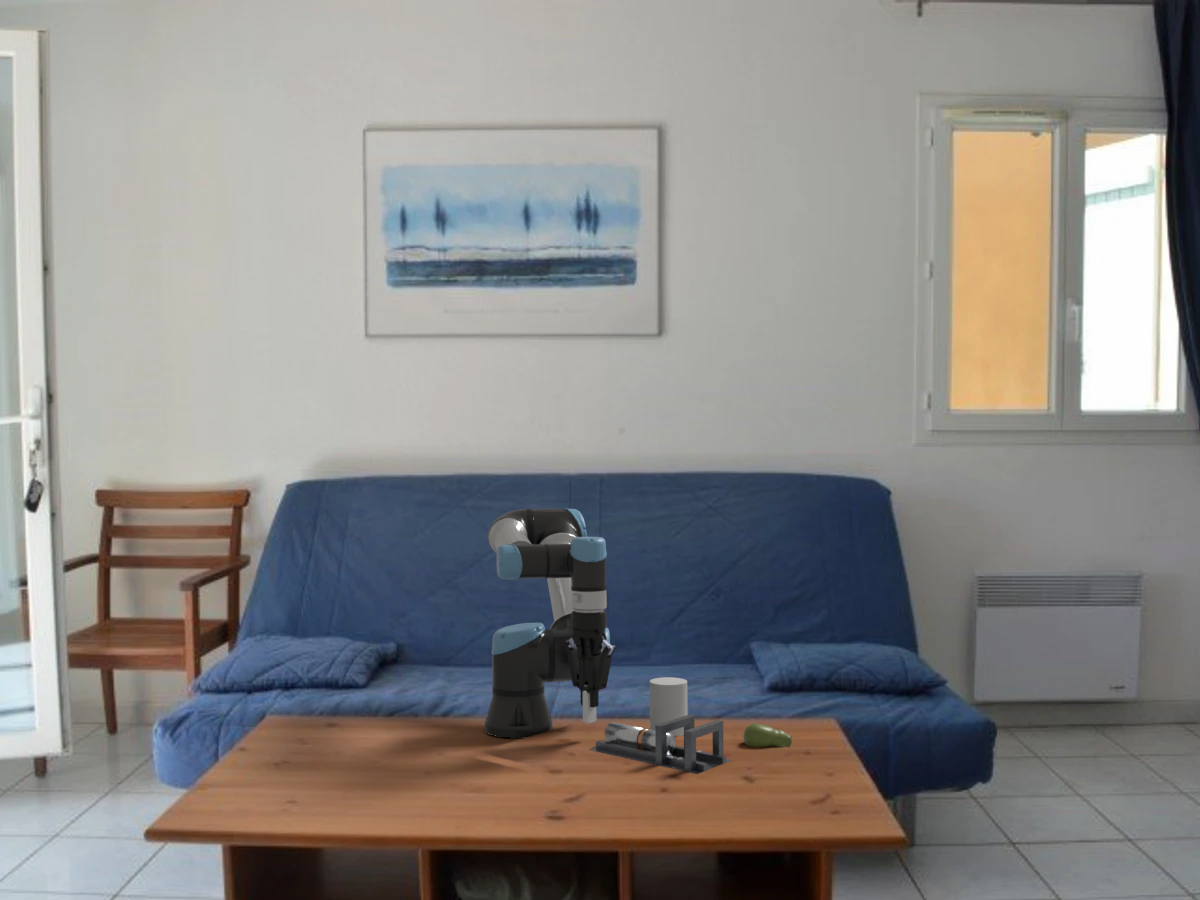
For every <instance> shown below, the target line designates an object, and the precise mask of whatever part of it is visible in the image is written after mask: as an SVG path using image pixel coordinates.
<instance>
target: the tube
mask: <svg viewBox="0 0 1200 900" xmlns="http://www.w3.org/2000/svg"><path fill="white" fill-rule="evenodd" d="M675 737H676V736H674V735H673V734H670V733H667V755H671V754H672V753H673V752H674V749H675V746H677V745H676V744H677V743H676V742H677V741H676V738H675ZM604 739H605V740H604V741H605V742H609V743H614V744H619V745H623V746H628V747H633V748H637V749H642V750H647V751H651V752H656V742H655V730H650V728H649V729H648V728H644V727H639V726H634V725H628V724H624V723H619V722H615V721H611V722H610V723H608V724H607V726H606V727H605V731H604Z"/></svg>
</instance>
